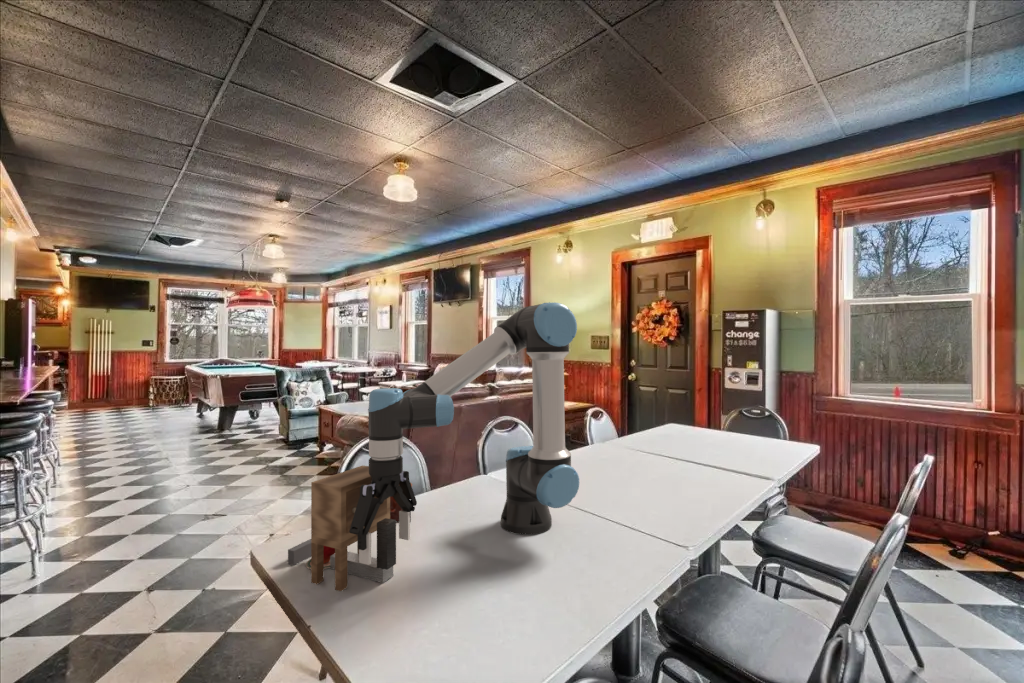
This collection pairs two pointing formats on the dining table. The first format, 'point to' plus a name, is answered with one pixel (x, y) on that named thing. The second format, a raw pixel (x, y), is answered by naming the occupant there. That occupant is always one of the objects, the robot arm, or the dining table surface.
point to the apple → (327, 553)
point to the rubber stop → (299, 553)
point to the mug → (395, 509)
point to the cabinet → (338, 520)
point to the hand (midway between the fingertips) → (386, 550)
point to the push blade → (385, 555)
